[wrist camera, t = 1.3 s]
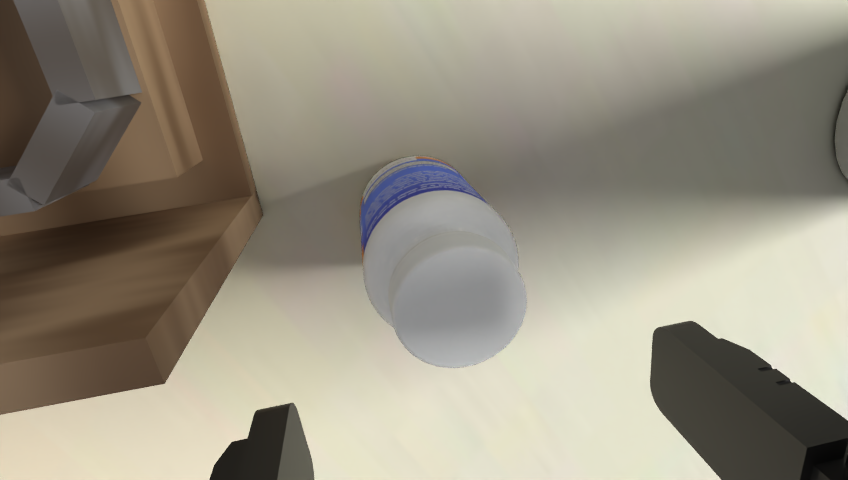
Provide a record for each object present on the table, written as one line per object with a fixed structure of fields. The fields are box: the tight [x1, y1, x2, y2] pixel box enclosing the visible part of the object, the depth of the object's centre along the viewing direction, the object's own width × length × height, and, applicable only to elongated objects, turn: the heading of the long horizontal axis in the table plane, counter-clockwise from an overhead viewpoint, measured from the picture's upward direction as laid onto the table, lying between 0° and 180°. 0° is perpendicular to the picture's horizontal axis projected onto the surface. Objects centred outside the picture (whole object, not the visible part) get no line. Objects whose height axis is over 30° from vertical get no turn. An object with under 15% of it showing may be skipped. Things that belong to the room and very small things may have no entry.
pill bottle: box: [360, 156, 527, 368], centre depth 18 cm, size 5×5×10 cm
